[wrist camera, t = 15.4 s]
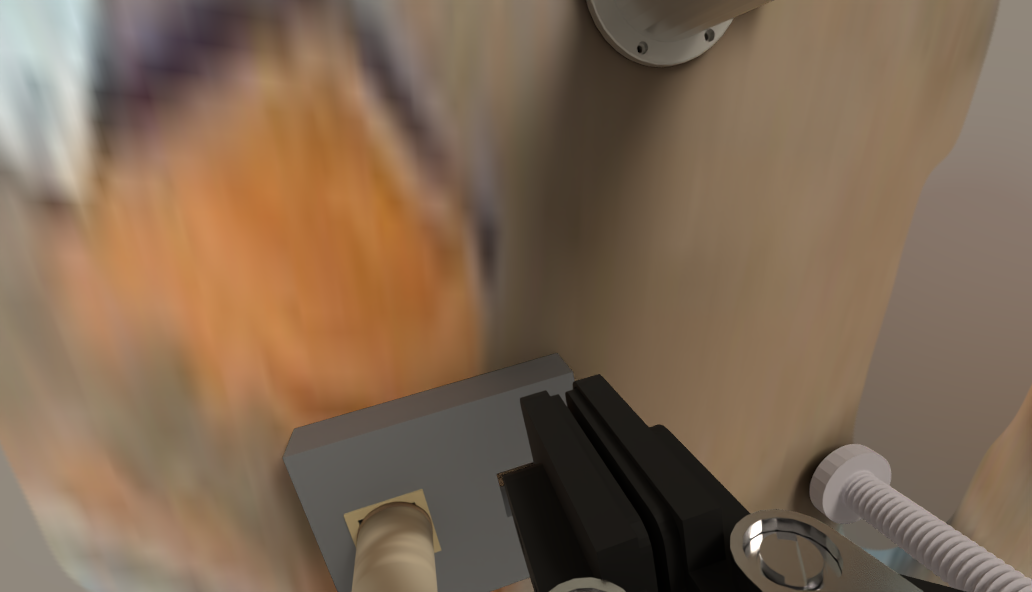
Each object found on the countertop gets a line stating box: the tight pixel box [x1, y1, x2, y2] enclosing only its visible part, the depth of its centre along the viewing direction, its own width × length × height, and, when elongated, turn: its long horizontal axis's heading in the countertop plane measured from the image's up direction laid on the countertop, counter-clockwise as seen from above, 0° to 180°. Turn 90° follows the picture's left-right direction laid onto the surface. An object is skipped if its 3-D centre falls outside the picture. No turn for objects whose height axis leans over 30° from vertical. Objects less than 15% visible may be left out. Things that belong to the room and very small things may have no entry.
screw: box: [810, 444, 1032, 592], centre depth 44 cm, size 8×8×20 cm
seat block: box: [283, 353, 574, 592], centre depth 41 cm, size 22×18×4 cm
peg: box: [352, 501, 437, 592], centre depth 37 cm, size 6×6×10 cm
